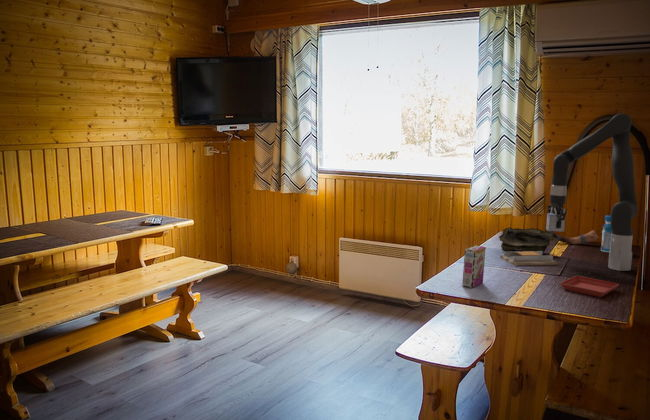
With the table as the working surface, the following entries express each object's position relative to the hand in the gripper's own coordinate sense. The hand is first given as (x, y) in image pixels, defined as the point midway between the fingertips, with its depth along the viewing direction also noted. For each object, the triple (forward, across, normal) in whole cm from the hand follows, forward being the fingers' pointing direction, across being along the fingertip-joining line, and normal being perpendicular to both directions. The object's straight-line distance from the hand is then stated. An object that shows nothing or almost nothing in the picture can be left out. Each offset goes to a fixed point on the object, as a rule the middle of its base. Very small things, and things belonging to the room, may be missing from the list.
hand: (555, 226), depth 284 cm
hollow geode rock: (+18, +19, +5) cm, 27 cm away
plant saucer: (+18, -50, +12) cm, 54 cm away
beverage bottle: (+18, +17, -44) cm, 50 cm away
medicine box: (+2, 0, 0) cm, 2 cm away
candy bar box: (+18, -38, +59) cm, 73 cm away
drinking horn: (+18, +37, -34) cm, 53 cm away
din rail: (+16, -1, +14) cm, 21 cm away
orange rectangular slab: (+14, -1, +14) cm, 20 cm away
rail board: (+18, -1, +14) cm, 22 cm away
